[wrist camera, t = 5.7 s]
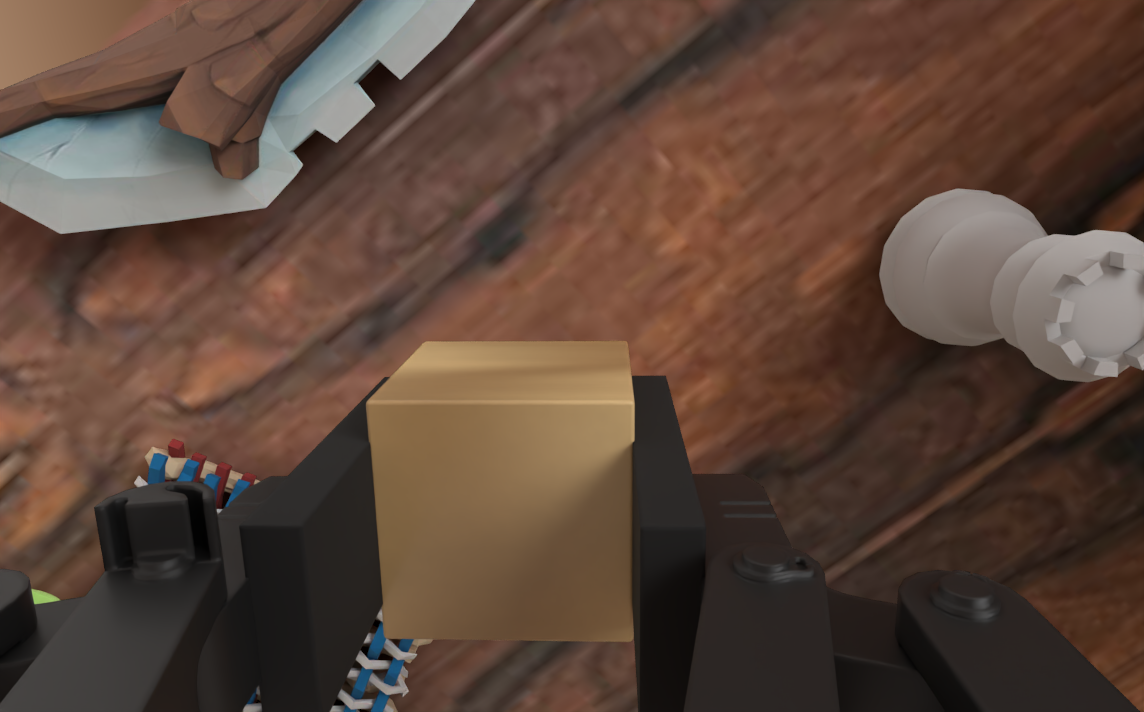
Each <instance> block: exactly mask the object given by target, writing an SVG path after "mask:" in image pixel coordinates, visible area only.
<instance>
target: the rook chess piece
mask: <svg viewBox="0 0 1144 712" xmlns="http://www.w3.org/2000/svg"><path fill="white" fill-rule="evenodd" d="M879 277H880V281H881V286H882V290H883V294H884V299H885V303H886V305H887V306H888V307H889V308H890V310H891V311H892V312H893V314H894V315H895V316H896V318H897V319H898V320H899V322H900V323H901V324H902V325H903V326H904V327H906V328H908V329H910V330H912V331H914V332H915V333H917V334H919V335H921V336H923V337H925V338H927V339H932V340H935V341H937V342H939V343H941V344H952V345H963V346H977V345H981V344H984V343H987V342H991V341H994V340H998V339H1001V338H1004V339H1005V340H1006V341H1007V343H1009V344H1011V345H1013V346H1015V347H1016V348H1018V349H1020V350H1022V351H1024V353H1025V354H1026V355H1027V357H1028V358H1029V360H1030V361H1031V362H1032V364H1033V365H1034V366H1035V367H1037V368H1039V369H1041V370H1042V371H1044V372H1046V373H1048V374H1050V375H1052V376H1053V377H1055V378H1057V379H1059V380H1069V381H1081V382H1091V381H1095V380H1099V379H1102V378H1106V377H1109V376H1110V377H1118V374H1119V373H1121V372H1122V371H1124V370H1125V369H1126V368H1128V367H1129V366H1133V367H1135V368H1138V369H1140V370H1143V369H1144V243H1143V242H1142V241H1140V240H1138V239H1136V238H1135V237H1133V236H1131V235H1129V234H1128V233H1125V232H1113V231H1102V230H1093V231H1089V232H1086V233H1083V234H1079V235H1076V236H1071V235H1060V234H1053V235H1050V236H1048V235H1047V233H1046V232H1045V230H1044V229H1043V228H1042V226H1041V225H1040V223H1039V222H1038V220H1037V219H1036V218H1035V216H1034V215H1033V214H1032V213H1031V212H1030V211H1029V210H1028V209H1026V208H1024V207H1023V206H1021V205H1019V204H1017V203H1015V202H1014V201H1012V200H1010V199H1008V198H1006V197H1005V196H1003V195H995V194H992V193H990V192H989V191H980V190H969V189H958V188H957V189H954V190H951V191H948V192H944V193H941V194H938V195H934V196H931V197H928V198H926V199H925V200H923V201H922V202H921V203H919V204H918V205H917V206H916V207H914V208H913V209H912V210H910V211H909V212H908V213H907V214H905V215H904V216H903V217H901V219H900V220H899V222H898V224H897V225H896V227H895V229H894V230H893V232H892V233H891V235H890V237H889V238H888V240H887V242H886V243H885V245H884V250H883V256H882V261H881V267H880V272H879Z"/></svg>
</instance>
